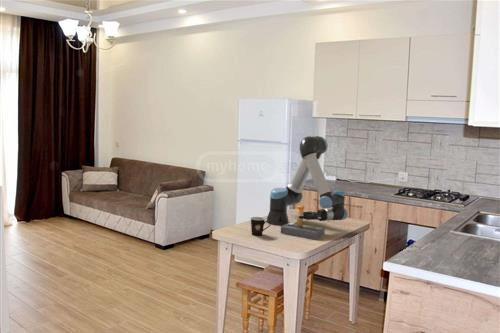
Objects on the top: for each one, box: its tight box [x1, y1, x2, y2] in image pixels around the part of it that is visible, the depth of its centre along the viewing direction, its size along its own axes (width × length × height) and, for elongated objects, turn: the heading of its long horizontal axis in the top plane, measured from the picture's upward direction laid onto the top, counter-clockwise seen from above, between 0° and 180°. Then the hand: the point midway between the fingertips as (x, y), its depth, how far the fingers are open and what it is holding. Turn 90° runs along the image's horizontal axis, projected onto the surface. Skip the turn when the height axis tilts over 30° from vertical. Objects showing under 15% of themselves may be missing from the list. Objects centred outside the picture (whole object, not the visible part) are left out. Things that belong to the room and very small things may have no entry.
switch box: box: [280, 222, 326, 241], centre depth 278 cm, size 24×14×4 cm, turn 62°
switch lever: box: [296, 204, 305, 228], centre depth 278 cm, size 4×4×16 cm
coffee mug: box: [250, 216, 271, 237], centre depth 271 cm, size 12×9×10 cm
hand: (292, 216), depth 276 cm, fingers closed on switch lever, 4 cm apart
